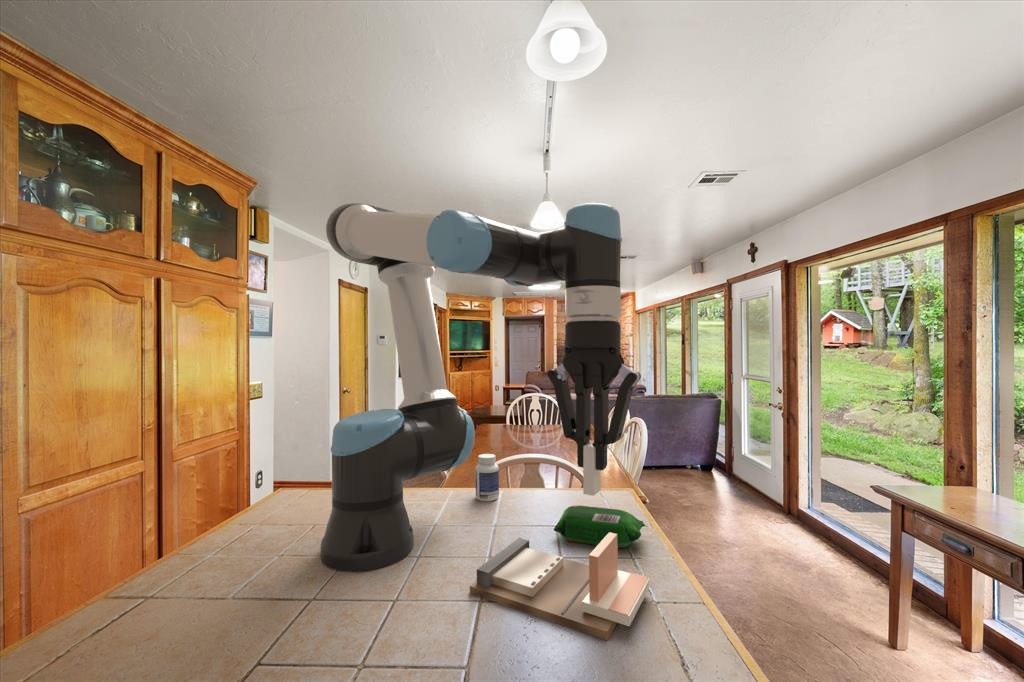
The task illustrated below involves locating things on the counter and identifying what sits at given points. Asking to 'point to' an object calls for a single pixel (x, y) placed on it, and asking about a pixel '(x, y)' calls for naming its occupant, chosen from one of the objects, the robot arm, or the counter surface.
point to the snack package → (598, 525)
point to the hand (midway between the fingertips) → (592, 491)
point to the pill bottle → (487, 478)
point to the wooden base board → (540, 587)
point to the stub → (613, 585)
